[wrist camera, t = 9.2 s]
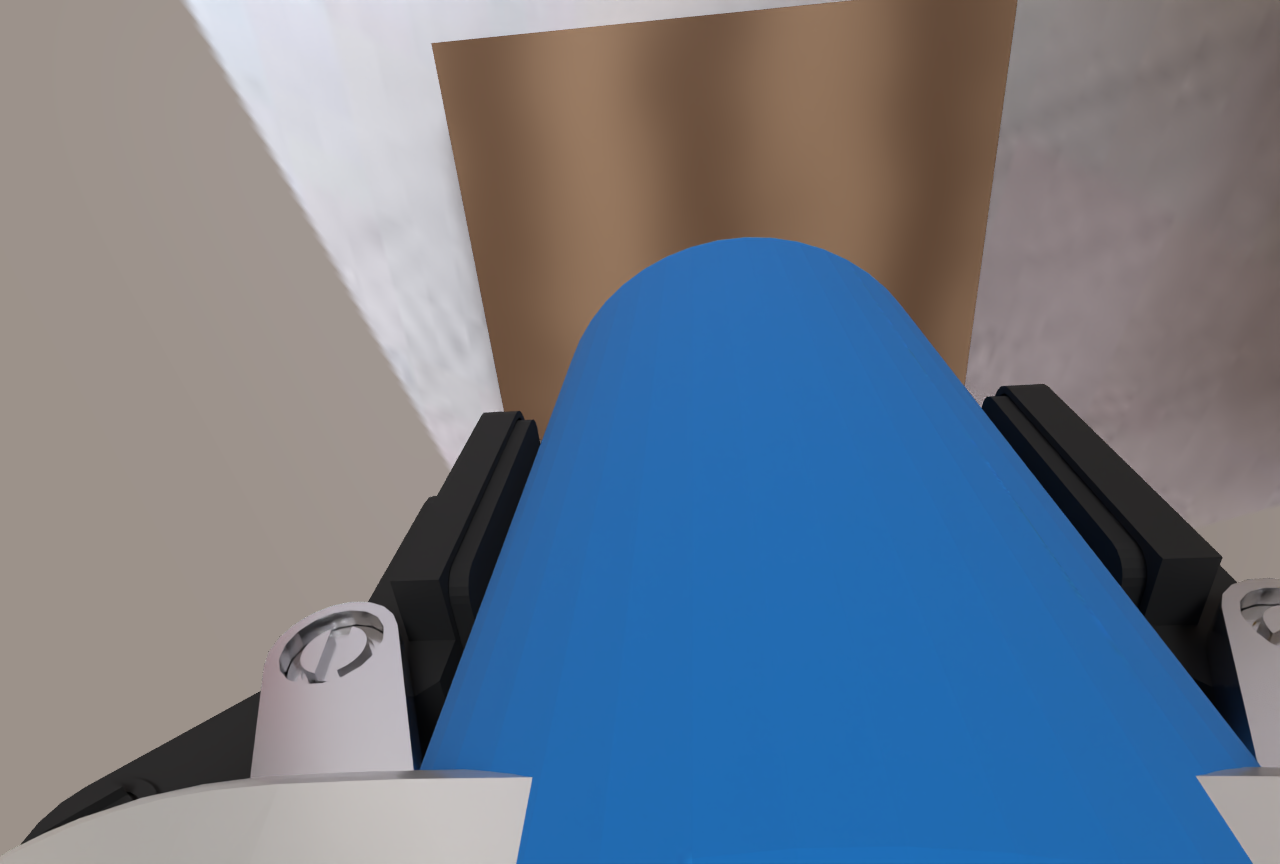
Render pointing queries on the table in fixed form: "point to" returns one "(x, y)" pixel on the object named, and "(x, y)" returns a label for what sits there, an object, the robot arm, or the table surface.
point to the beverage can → (813, 607)
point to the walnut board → (724, 159)
